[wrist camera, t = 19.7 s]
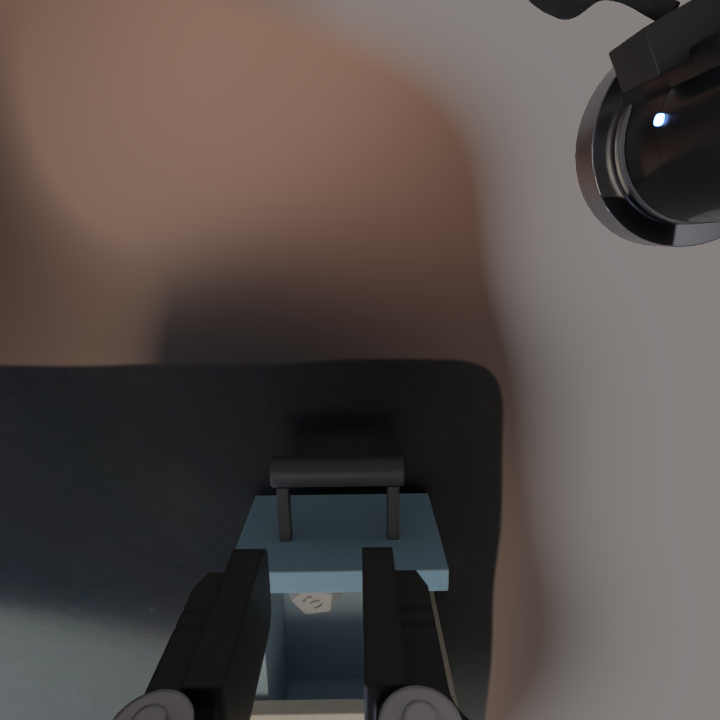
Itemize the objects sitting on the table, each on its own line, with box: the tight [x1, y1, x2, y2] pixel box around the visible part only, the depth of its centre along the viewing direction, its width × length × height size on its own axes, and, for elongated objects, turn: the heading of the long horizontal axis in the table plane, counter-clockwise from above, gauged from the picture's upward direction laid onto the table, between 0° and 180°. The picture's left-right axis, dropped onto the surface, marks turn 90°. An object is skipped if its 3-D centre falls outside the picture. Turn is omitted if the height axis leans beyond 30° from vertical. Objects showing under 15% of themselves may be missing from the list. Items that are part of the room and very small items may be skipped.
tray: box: [236, 455, 449, 701], centre depth 27 cm, size 18×10×7 cm, turn 1°
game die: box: [288, 592, 343, 614], centre depth 26 cm, size 4×4×3 cm
